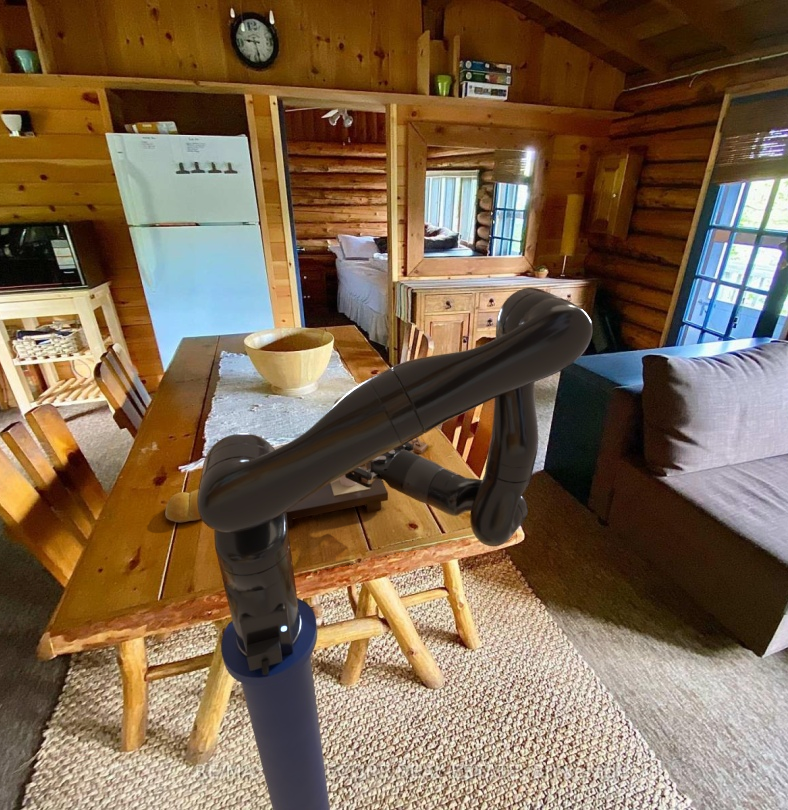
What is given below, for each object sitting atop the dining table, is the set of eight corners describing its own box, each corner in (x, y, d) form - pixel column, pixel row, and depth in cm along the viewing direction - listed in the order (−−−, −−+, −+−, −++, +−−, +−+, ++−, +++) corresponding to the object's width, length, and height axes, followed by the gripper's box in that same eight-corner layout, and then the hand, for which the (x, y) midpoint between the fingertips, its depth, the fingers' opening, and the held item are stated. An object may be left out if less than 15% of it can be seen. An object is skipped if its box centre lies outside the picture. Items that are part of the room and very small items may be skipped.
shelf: (388, 507, 93) (388, 492, 91) (269, 531, 86) (266, 515, 84) (373, 475, 103) (373, 460, 101) (266, 494, 96) (264, 478, 94)
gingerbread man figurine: (390, 444, 115) (390, 403, 110) (397, 438, 118) (398, 398, 113) (420, 454, 112) (422, 412, 106) (427, 446, 115) (429, 406, 109)
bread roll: (214, 519, 89) (211, 503, 87) (165, 528, 86) (160, 512, 84) (217, 494, 95) (213, 479, 94) (171, 501, 93) (166, 486, 91)
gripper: (440, 443, 84) (376, 417, 92) (393, 478, 73) (325, 446, 82) (438, 476, 87) (376, 448, 96) (392, 513, 77) (328, 478, 85)
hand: (353, 447), depth 89 cm, fingers open, 8 cm apart
